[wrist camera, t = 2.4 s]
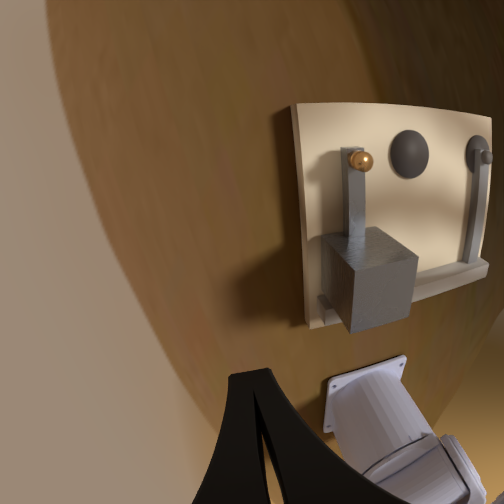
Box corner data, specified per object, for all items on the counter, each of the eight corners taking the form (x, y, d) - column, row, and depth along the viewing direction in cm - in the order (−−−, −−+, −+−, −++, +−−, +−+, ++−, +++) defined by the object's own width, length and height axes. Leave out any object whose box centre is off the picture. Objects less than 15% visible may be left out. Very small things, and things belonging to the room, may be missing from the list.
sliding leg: (372, 278, 18) (408, 316, 14) (321, 289, 18) (350, 334, 14) (375, 145, 15) (425, 155, 11) (315, 148, 14) (355, 158, 10)
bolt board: (466, 274, 22) (485, 289, 19) (304, 319, 21) (316, 344, 18) (480, 116, 16) (506, 120, 14) (290, 105, 15) (306, 101, 12)
